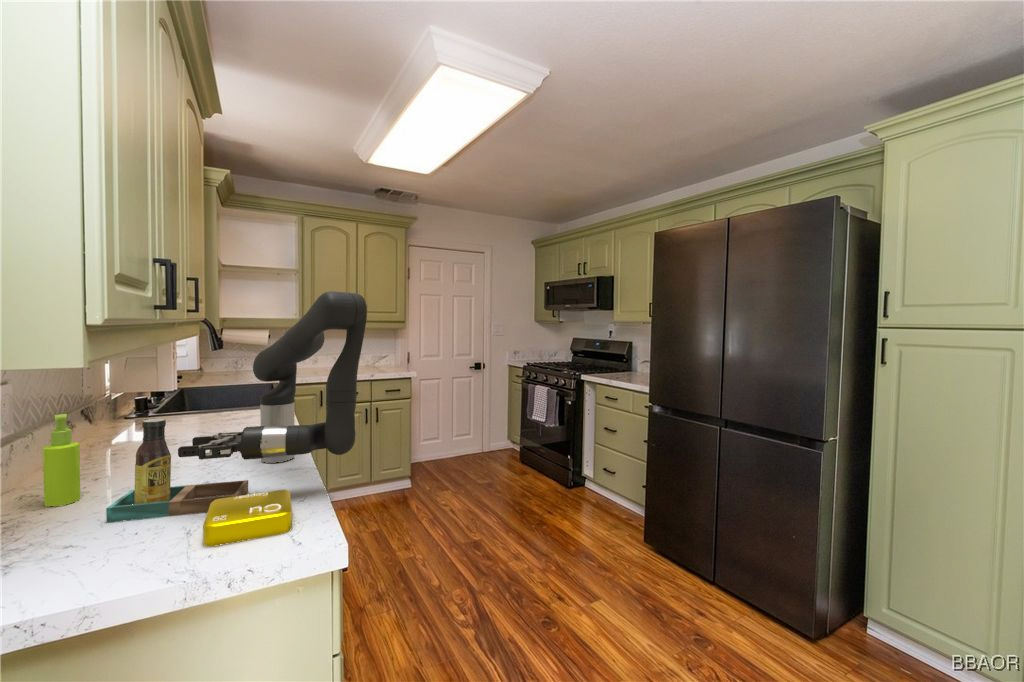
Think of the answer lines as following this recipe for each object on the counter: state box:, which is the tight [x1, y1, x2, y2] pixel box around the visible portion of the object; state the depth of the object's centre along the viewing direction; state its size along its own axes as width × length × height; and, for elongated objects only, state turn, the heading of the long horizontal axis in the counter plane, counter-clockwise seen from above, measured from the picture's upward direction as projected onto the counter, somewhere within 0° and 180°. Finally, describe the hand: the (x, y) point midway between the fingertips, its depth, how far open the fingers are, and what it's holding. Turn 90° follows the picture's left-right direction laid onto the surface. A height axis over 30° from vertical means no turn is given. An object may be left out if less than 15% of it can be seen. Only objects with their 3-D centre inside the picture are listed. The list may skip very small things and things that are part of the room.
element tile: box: [202, 489, 293, 547], centre depth 93 cm, size 15×15×5 cm
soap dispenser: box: [42, 413, 82, 507], centre depth 103 cm, size 6×7×20 cm
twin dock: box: [105, 479, 249, 523], centre depth 101 cm, size 11×24×3 cm, turn 109°
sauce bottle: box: [134, 418, 172, 504], centre depth 99 cm, size 6×6×20 cm
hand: (186, 446), depth 101 cm, fingers open, 8 cm apart
